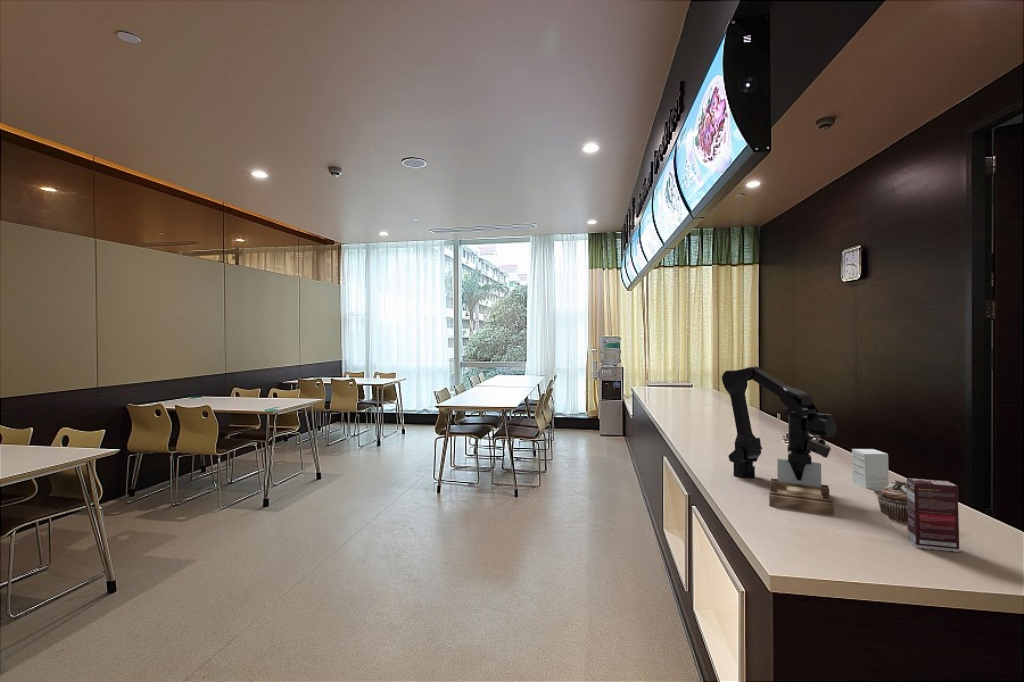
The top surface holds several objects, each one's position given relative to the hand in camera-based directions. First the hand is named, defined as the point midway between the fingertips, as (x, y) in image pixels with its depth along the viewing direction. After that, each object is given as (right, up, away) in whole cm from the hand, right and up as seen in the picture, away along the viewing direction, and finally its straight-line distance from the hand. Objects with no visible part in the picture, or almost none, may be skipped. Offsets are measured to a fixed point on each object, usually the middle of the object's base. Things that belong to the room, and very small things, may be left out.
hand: (799, 479), depth 152 cm
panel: (0, -4, 0) cm, 4 cm away
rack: (-4, -5, -7) cm, 9 cm away
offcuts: (-4, -4, -7) cm, 9 cm away
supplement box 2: (+10, -6, -38) cm, 39 cm away
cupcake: (+17, -5, -19) cm, 26 cm away
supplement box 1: (+28, -5, +7) cm, 30 cm away
